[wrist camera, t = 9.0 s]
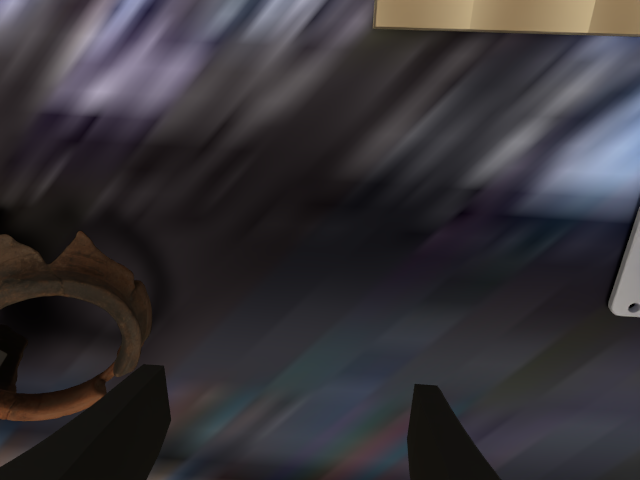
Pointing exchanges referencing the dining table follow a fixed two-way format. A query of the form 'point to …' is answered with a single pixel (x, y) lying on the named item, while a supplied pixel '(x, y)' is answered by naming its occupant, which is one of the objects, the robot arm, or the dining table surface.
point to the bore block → (512, 16)
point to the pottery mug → (81, 283)
